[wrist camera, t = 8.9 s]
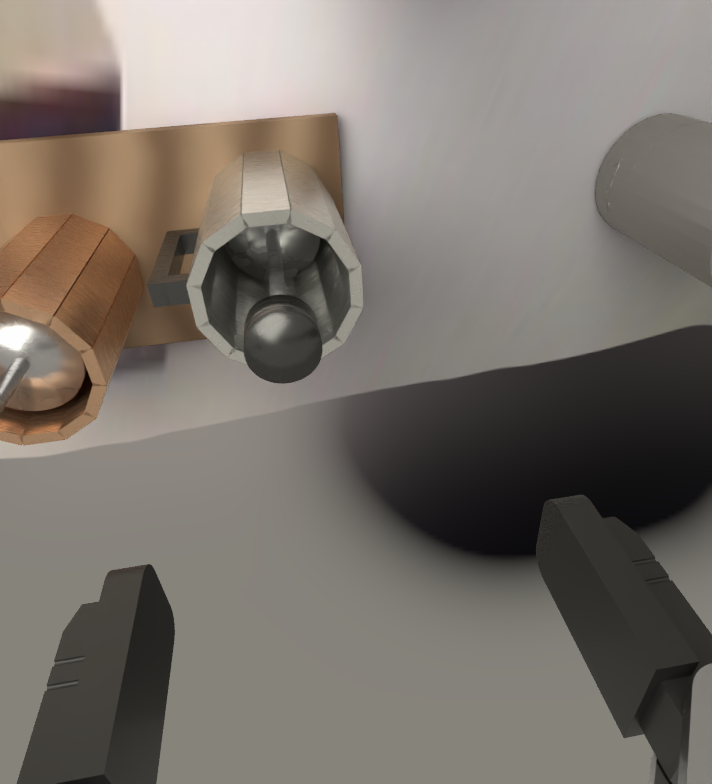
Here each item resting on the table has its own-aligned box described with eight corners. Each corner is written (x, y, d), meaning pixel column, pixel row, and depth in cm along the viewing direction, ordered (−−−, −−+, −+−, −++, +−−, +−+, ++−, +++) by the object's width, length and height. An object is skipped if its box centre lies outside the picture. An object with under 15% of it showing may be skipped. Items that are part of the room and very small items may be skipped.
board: (335, 113, 39) (337, 115, 38) (348, 315, 48) (350, 321, 47) (-54, 145, 37) (-62, 148, 36) (38, 351, 46) (34, 359, 45)
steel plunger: (314, 179, 37) (350, 275, 24) (323, 272, 41) (357, 399, 28) (214, 189, 36) (195, 293, 23) (232, 282, 40) (224, 416, 27)
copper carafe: (122, 208, 39) (70, 290, 28) (156, 324, 45) (124, 431, 34) (-52, 225, 38) (-180, 317, 27) (4, 341, 44) (-83, 459, 32)
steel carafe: (327, 145, 39) (358, 202, 28) (336, 269, 45) (365, 358, 33) (157, 160, 38) (118, 226, 27) (188, 285, 43) (166, 384, 32)
